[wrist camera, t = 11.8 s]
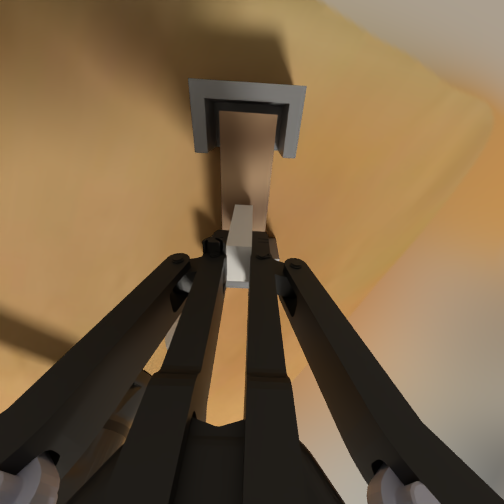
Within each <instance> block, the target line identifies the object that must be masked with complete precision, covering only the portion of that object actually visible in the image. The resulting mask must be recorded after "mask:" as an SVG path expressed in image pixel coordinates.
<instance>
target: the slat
mask: <svg viewBox="0 0 504 504" xmlns="http://www.w3.org/2000/svg"><path fill="white" fill-rule="evenodd" d="M277 116H278V115H273V114H259V113H245V112H231V111H219V122H220V161H221V200H222V230H230V225H231V221H232V216H233V212H234V207H235V204H236V205H253V214H252V231H262V232H265V228H266V218H267V209H268V200H269V191H270V181H271V172H272V163H273V153H274V144H275V135H276V125H277Z"/></svg>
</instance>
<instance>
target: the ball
mask: <svg viewBox="0 0 504 504" xmlns="http://www.w3.org/2000/svg"><path fill="white" fill-rule="evenodd" d="M180 316H181V314H180V315H179V317H178V318H177V320H176V321H175V323H174V324H173V325H172V327H171V328H170V330H169V331H168V333H167V334H166V337H165V342H166V347H167V350H168V348H169V345H170V343H171V340H172V337H173V335H174V332H175V329H176V326H177V324H178V321H179V318H180Z"/></svg>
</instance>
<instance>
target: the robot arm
mask: <svg viewBox="0 0 504 504" xmlns="http://www.w3.org/2000/svg"><path fill="white" fill-rule="evenodd" d="M252 214H253V205H236V204H235V207H234V212H233V216H232V221H231V225H230V230H217V231H216V232H214V234H213V237H209V238H206V239H204V240H203V241H202V244H203V256H202V257H199V258H194V259H190V257H189V256H188V255H187V254H184V253H177V254H173V255H171V256H169V257H168V258H167V259H165V260H164V261H163V262H162V263H161V264H160V265H159V266H158V267H157V268H156V269H155V270H154V271H153V272H152V273H151V274H150V275H149V276H148V277H146V278H145V279H144V280H143V281H142V282H141V283H140V284H139V285H138V286H137V287H136V288H135V289H134V290H133V291H132V292H131V293H130V294H128V295H127V296H126V297H125V298H124V299H123V300H122V301H121V302H120V303H119V304H118V305H117V306H116V307H115V308H114V309H113V310H112V311H111V312H109V313H108V314H107V315H106V316H105V317H104V318H103V319H102V320H101V321H100V322H99V323H98V324H97V325H96V326H95V327H94V328H93V329H91V330H90V331H89V332H88V333H87V334H86V335H85V336H84V337H83V338H82V339H81V340H80V341H79V342H78V343H77V344H76V345H75V346H73V347H72V348H71V349H70V350H69V351H68V352H67V353H66V354H65V355H64V356H63V357H62V358H61V359H60V360H59V361H58V362H57V363H56V364H54V365H53V366H52V367H51V368H50V369H49V370H48V371H47V372H46V373H45V374H44V375H43V376H42V377H41V378H40V379H39V380H38V381H36V382H35V383H34V384H33V385H32V386H31V387H30V388H29V389H28V390H27V391H26V392H25V393H24V394H23V395H22V396H21V397H20V398H19V399H17V400H16V401H15V402H14V403H13V404H12V405H11V406H10V407H9V408H8V409H7V410H5V411H4V412H2V413H1V414H0V504H345V503H344V501H343V500H342V498H341V497H340V495H339V494H338V492H337V491H336V489H335V488H334V486H333V485H332V483H331V482H330V480H329V479H328V478H327V476H326V475H325V473H324V472H323V470H322V469H321V467H320V466H319V464H318V463H317V461H316V460H315V458H314V457H313V455H312V454H311V453H310V451H309V450H308V449H307V448H306V447H305V445H304V444H302V442H301V441H300V440H299V435H298V429H297V421H296V414H295V406H294V398H293V391H292V385H291V381H290V378H289V377H288V376H287V373H286V366H285V357H284V349H283V341H282V333H281V324H280V316H279V308H278V299H277V295H279V299H280V301H281V303H282V305H283V308H284V310H285V312H286V314H287V317H288V319H289V321H290V323H291V326H292V328H293V330H294V332H295V334H296V337H297V339H298V341H299V343H300V346H301V348H302V350H303V352H304V354H305V357H306V359H307V361H308V363H309V366H310V368H311V370H312V372H313V374H314V376H315V379H316V381H317V383H318V386H319V388H320V390H321V392H322V394H323V397H324V399H325V401H326V403H327V406H328V408H329V410H330V412H331V414H332V417H333V419H334V421H335V423H336V426H337V428H338V430H339V432H340V434H341V437H342V439H343V441H344V443H345V445H346V447H347V449H348V451H349V453H350V455H351V457H352V459H353V461H354V462H355V464H356V466H357V467H358V469H359V471H360V473H361V474H362V476H363V478H364V479H365V481H366V482H367V484H368V489H367V502H368V504H504V500H503V499H502V498H501V497H500V496H499V495H498V494H497V493H495V492H494V491H493V490H492V489H491V488H490V487H489V486H488V485H487V484H486V483H485V482H484V481H483V480H482V479H481V478H480V477H479V476H478V475H477V474H476V473H475V472H474V471H473V470H471V468H469V467H468V466H467V465H466V464H465V463H464V462H463V461H462V460H461V459H460V458H459V457H458V456H457V455H456V454H455V453H454V452H453V451H452V450H451V449H450V448H449V447H448V446H446V445H445V444H444V443H443V442H442V441H441V440H440V439H439V438H438V437H437V436H436V435H435V434H434V433H433V432H432V431H431V430H430V429H428V427H427V426H426V425H424V424H423V423H422V421H421V420H420V419H419V417H418V416H417V415H416V413H415V412H414V411H413V409H412V408H411V406H410V405H409V404H408V402H407V401H406V400H405V398H404V397H403V395H402V394H401V393H400V392H399V390H398V389H397V387H396V386H395V385H394V383H393V382H392V381H391V379H390V378H389V376H388V375H387V373H386V372H385V371H384V370H383V368H382V367H381V365H380V364H379V363H378V361H377V360H376V359H375V357H374V356H373V354H372V353H371V352H370V350H369V349H368V347H367V346H366V345H365V343H364V342H363V341H362V339H361V338H360V337H359V335H358V334H357V332H356V331H355V330H354V329H353V327H352V326H351V324H350V323H349V322H348V320H347V319H346V317H345V316H344V315H343V313H342V312H341V311H340V309H339V308H338V306H337V305H336V304H335V302H334V301H333V300H332V298H331V297H330V295H329V294H328V293H327V291H326V290H325V289H324V287H323V286H322V285H321V283H320V282H319V280H318V279H317V278H316V276H315V275H314V274H313V272H312V271H311V269H310V268H309V267H308V265H307V264H306V263H305V262H304V261H302V260H300V259H297V258H290V259H287V260H286V261H285V263H283V262H279V261H277V260H275V259H273V258H272V255H271V254H270V247H269V238H268V234H267V233H266V232H262V231H252ZM226 278H227V281H241V282H249V292H248V320H247V346H246V371H245V397H244V419H243V420H241V421H237V422H234V423H231V424H227V425H224V426H220V427H216V426H213V425H211V424H208V423H206V410H207V400H208V394H209V388H210V382H211V376H212V370H213V364H214V357H215V351H216V345H217V339H218V333H219V327H220V321H221V315H222V309H223V303H224V297H225V290H226ZM181 312H182V313H181ZM180 314H181V316H180V318H179V321H178V324H177V326H176V329H175V332H174V335H173V337H172V340H171V343H170V345H169V348H168V351H167V354H166V356H165V359H164V362H163V364H162V367H161V369H160V370H159V371H158V372H156V373H154V374H153V376H152V377H151V376H150V375H149V374H147V373H146V372H144V371H142V369H143V368H144V366H145V365H146V364H147V362H148V361H149V359H150V358H151V356H152V355H153V353H154V352H155V350H156V349H157V347H158V346H159V344H160V343H161V342H162V340H163V339H164V337H165V336H166V334H167V333H168V331H169V330H170V328H171V327H172V325H173V324H174V323H175V321H176V320H177V318H178V317H179V315H180Z"/></svg>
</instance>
